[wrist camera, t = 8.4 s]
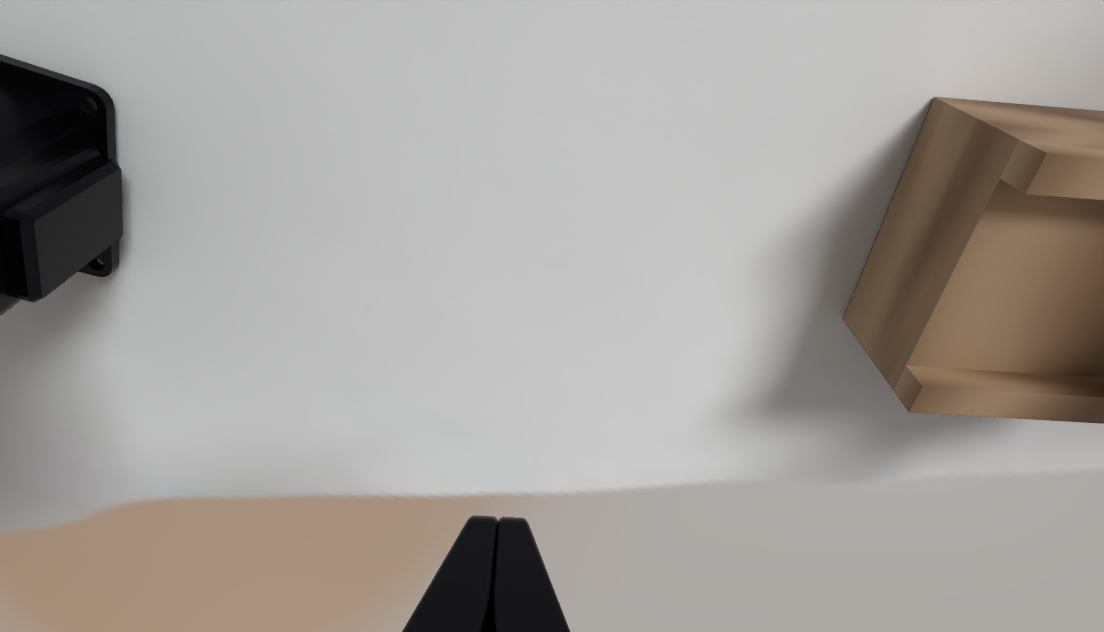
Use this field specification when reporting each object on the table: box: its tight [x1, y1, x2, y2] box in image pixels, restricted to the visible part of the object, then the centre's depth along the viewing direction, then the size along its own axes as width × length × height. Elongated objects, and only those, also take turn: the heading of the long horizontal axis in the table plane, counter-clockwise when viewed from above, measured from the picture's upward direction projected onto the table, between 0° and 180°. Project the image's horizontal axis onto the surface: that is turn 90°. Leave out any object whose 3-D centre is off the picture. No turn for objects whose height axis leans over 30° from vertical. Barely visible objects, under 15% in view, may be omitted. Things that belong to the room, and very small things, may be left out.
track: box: [843, 97, 1104, 423], centre depth 19 cm, size 10×8×5 cm
